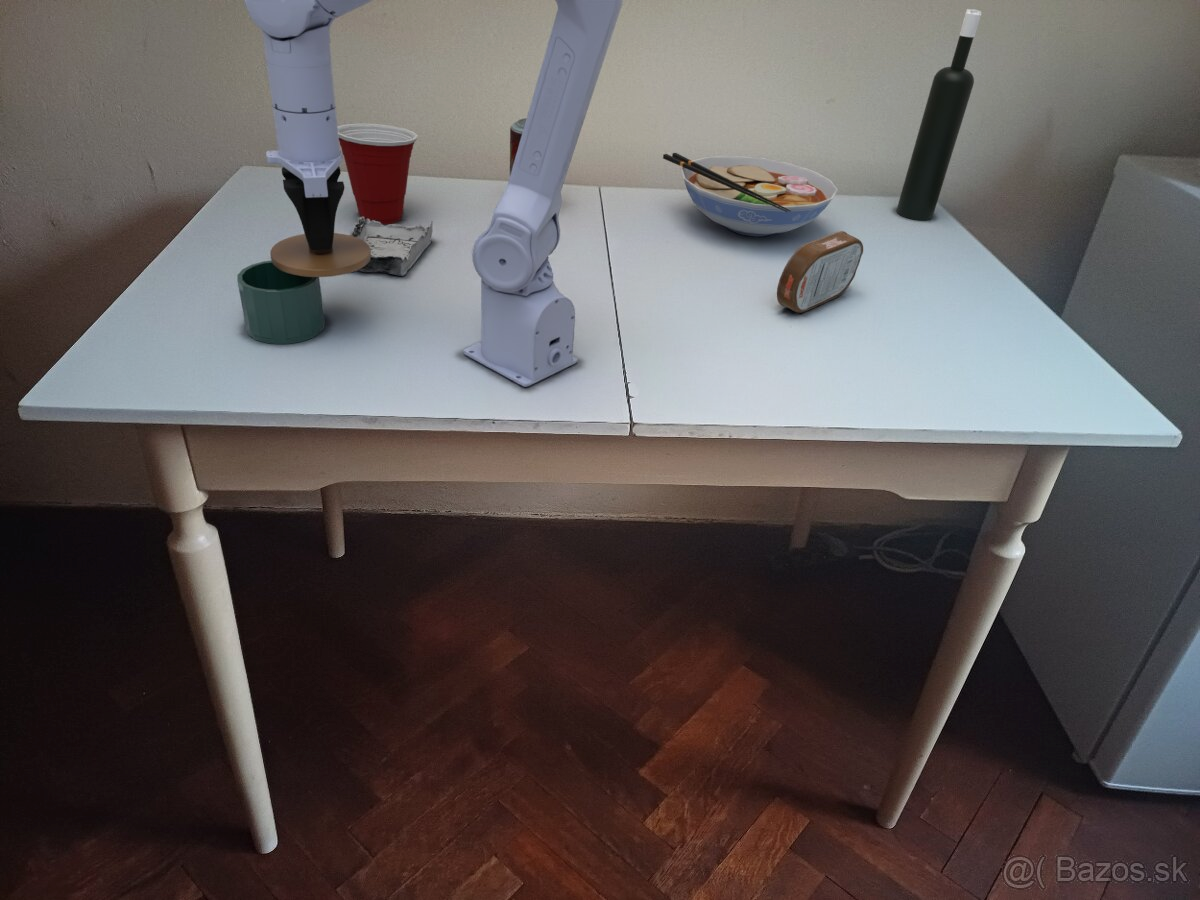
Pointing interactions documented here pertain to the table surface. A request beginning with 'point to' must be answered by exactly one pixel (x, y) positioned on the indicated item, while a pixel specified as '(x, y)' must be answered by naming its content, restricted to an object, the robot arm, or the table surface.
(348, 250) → the knobbed round lid
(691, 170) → the ramen bowl
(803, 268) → the tin
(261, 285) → the cup
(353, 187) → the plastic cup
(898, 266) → the table surface
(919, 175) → the wine bottle
